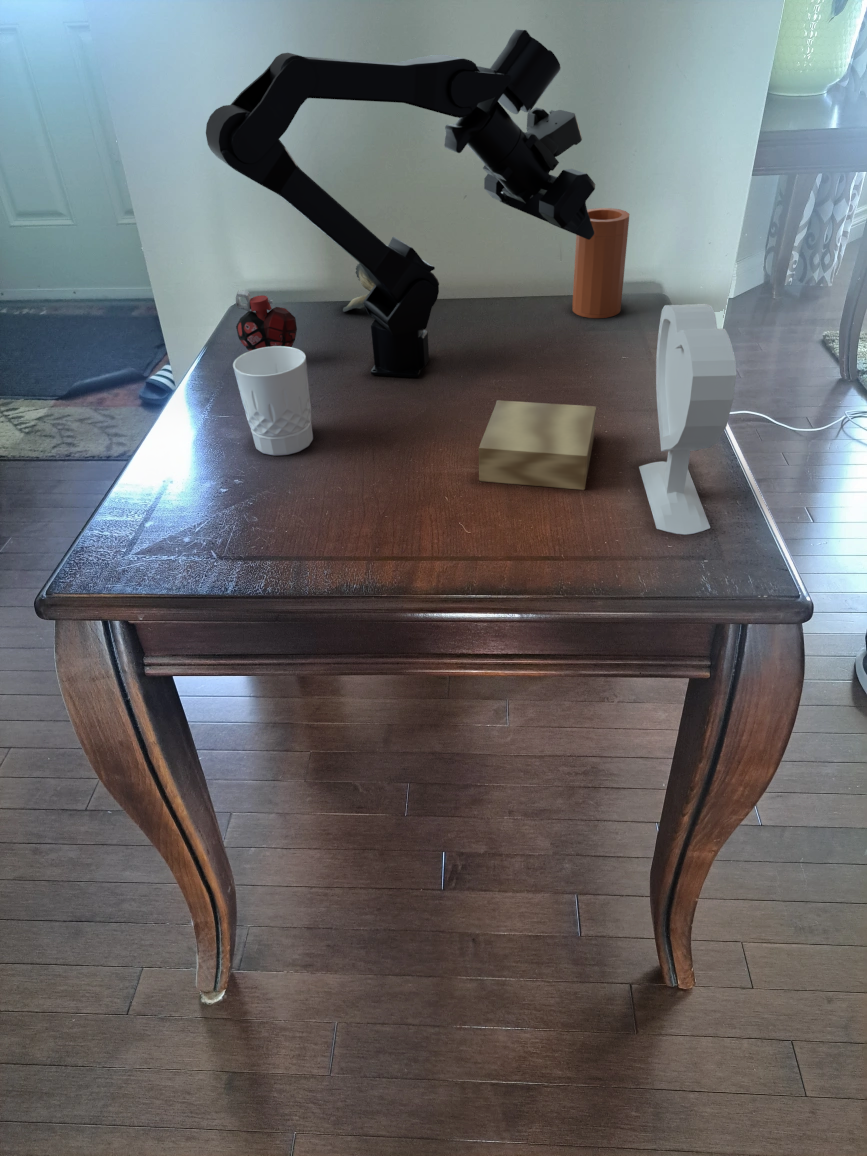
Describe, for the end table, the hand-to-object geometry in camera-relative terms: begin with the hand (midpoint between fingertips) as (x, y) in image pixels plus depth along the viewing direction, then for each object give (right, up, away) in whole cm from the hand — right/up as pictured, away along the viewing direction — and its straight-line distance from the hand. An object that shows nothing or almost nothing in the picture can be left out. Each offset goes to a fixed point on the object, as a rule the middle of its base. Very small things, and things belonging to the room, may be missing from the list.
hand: (572, 228), depth 111 cm
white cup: (-36, -31, -15) cm, 50 cm away
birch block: (-7, -34, -21) cm, 40 cm away
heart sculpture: (+5, -39, -27) cm, 48 cm away
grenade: (-41, -17, +3) cm, 44 cm away
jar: (+6, -7, +13) cm, 16 cm away
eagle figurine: (-28, -5, +18) cm, 34 cm away
